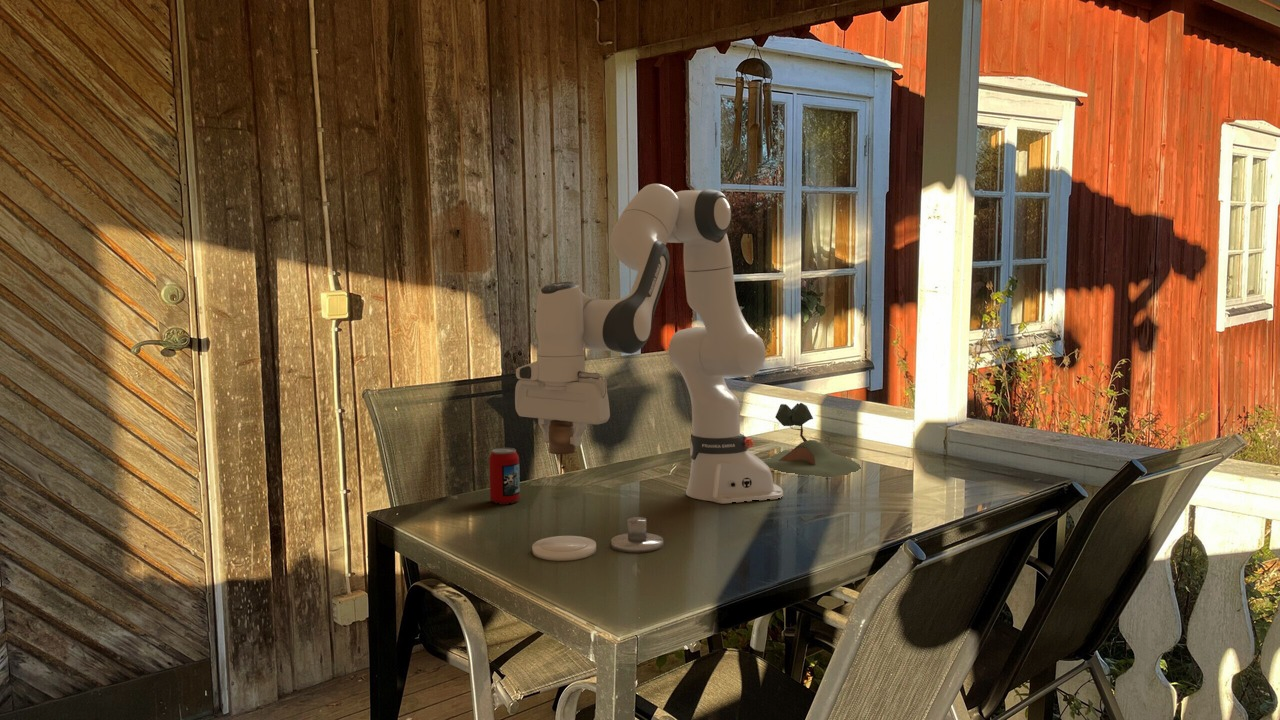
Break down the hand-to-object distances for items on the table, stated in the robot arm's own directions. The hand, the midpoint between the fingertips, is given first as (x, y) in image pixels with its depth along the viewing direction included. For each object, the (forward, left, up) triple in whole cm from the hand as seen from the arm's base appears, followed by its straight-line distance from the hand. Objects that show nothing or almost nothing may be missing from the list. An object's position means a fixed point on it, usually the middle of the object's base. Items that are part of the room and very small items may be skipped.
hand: (562, 444), depth 178 cm
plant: (-66, -70, -21) cm, 98 cm away
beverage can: (+13, -40, -21) cm, 47 cm away
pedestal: (-14, -2, -20) cm, 25 cm away
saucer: (0, 0, -20) cm, 20 cm away
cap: (0, 0, -2) cm, 2 cm away
